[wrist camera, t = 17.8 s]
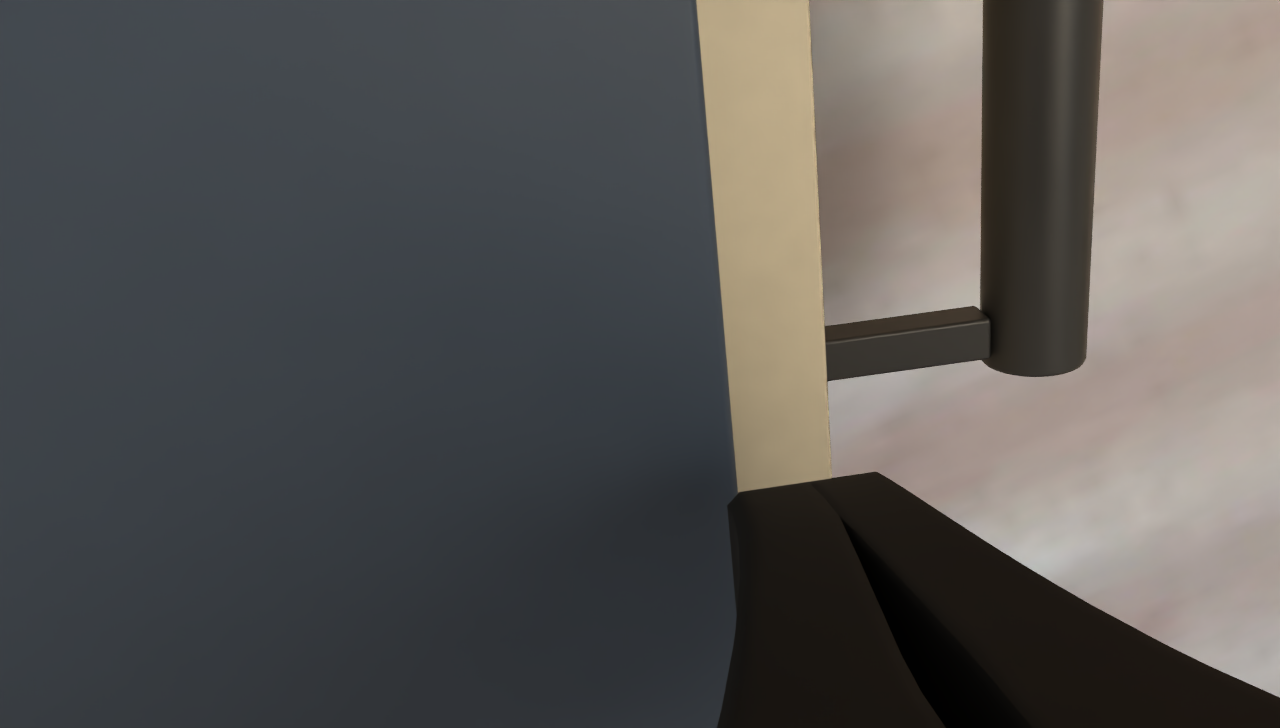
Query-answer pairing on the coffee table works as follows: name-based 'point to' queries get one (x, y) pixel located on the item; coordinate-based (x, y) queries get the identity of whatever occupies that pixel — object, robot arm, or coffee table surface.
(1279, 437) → the coffee table surface
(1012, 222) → the drawer
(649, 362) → the cabinet
